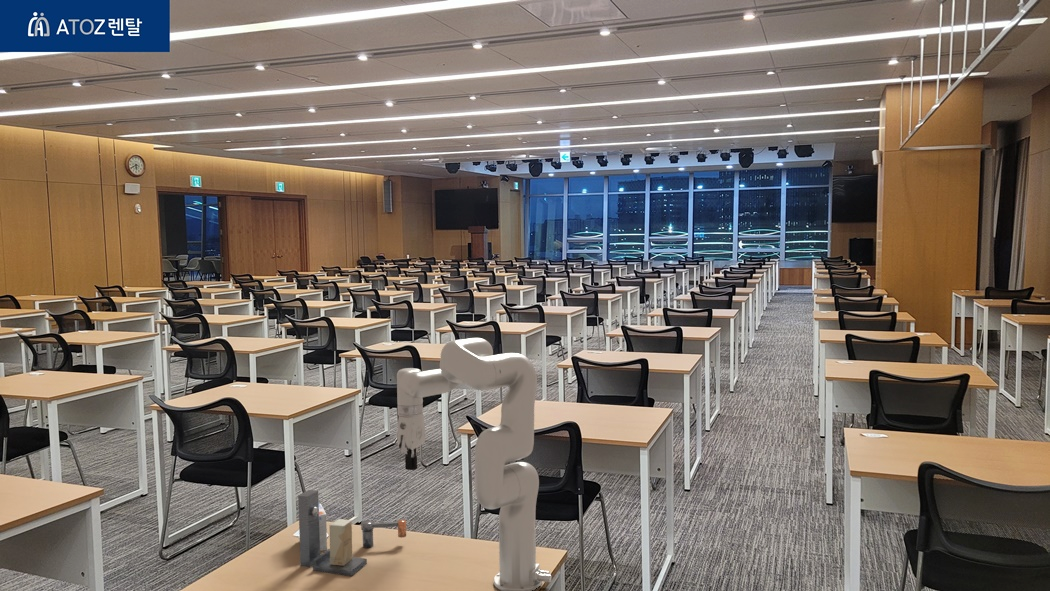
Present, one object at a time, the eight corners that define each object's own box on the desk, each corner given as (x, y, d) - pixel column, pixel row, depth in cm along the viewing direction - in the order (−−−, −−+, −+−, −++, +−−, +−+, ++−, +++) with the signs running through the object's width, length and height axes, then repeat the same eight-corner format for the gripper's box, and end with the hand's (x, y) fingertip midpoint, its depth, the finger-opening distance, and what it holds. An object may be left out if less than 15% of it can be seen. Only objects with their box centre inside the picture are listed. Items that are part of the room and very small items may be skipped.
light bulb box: (299, 541, 221) (297, 506, 220) (322, 537, 224) (320, 502, 223) (304, 554, 211) (303, 517, 210) (328, 550, 214) (327, 513, 213)
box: (343, 566, 199) (342, 526, 198) (329, 564, 200) (328, 525, 200) (353, 558, 204) (352, 519, 203) (339, 556, 205) (338, 518, 205)
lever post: (375, 544, 217) (374, 528, 217) (370, 548, 214) (369, 532, 214) (366, 543, 218) (365, 527, 218) (360, 547, 215) (360, 531, 215)
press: (366, 564, 204) (364, 493, 203) (351, 576, 196) (349, 503, 195) (314, 556, 209) (312, 488, 208) (297, 568, 202) (294, 497, 200)
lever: (361, 540, 214) (360, 525, 214) (362, 536, 218) (361, 520, 217) (406, 538, 216) (405, 522, 215) (406, 533, 219) (406, 518, 219)
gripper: (410, 415, 213) (411, 477, 214) (432, 405, 227) (433, 463, 228) (387, 414, 215) (388, 475, 217) (410, 403, 230) (411, 461, 231)
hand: (411, 468), depth 223 cm, fingers closed
